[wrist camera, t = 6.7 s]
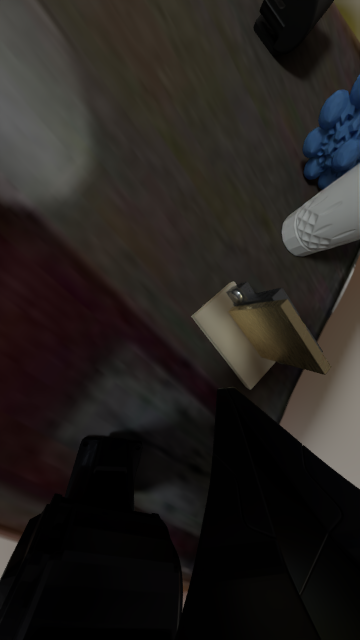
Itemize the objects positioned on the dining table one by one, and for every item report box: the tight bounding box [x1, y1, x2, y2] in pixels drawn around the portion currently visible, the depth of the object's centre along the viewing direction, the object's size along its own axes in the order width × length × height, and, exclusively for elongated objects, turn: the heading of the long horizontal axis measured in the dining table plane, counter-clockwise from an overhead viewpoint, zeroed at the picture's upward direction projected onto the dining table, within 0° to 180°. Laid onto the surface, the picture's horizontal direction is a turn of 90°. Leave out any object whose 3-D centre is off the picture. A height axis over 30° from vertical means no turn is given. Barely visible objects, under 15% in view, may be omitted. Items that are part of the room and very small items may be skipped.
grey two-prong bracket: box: [226, 282, 323, 364], centre depth 20 cm, size 2×12×6 cm, turn 40°
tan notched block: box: [228, 299, 331, 375], centre depth 20 cm, size 4×8×8 cm, turn 40°
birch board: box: [191, 281, 276, 390], centre depth 24 cm, size 7×13×1 cm, turn 39°
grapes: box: [303, 75, 360, 190], centre depth 22 cm, size 12×7×12 cm, turn 64°
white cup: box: [282, 163, 360, 257], centre depth 23 cm, size 8×8×10 cm
